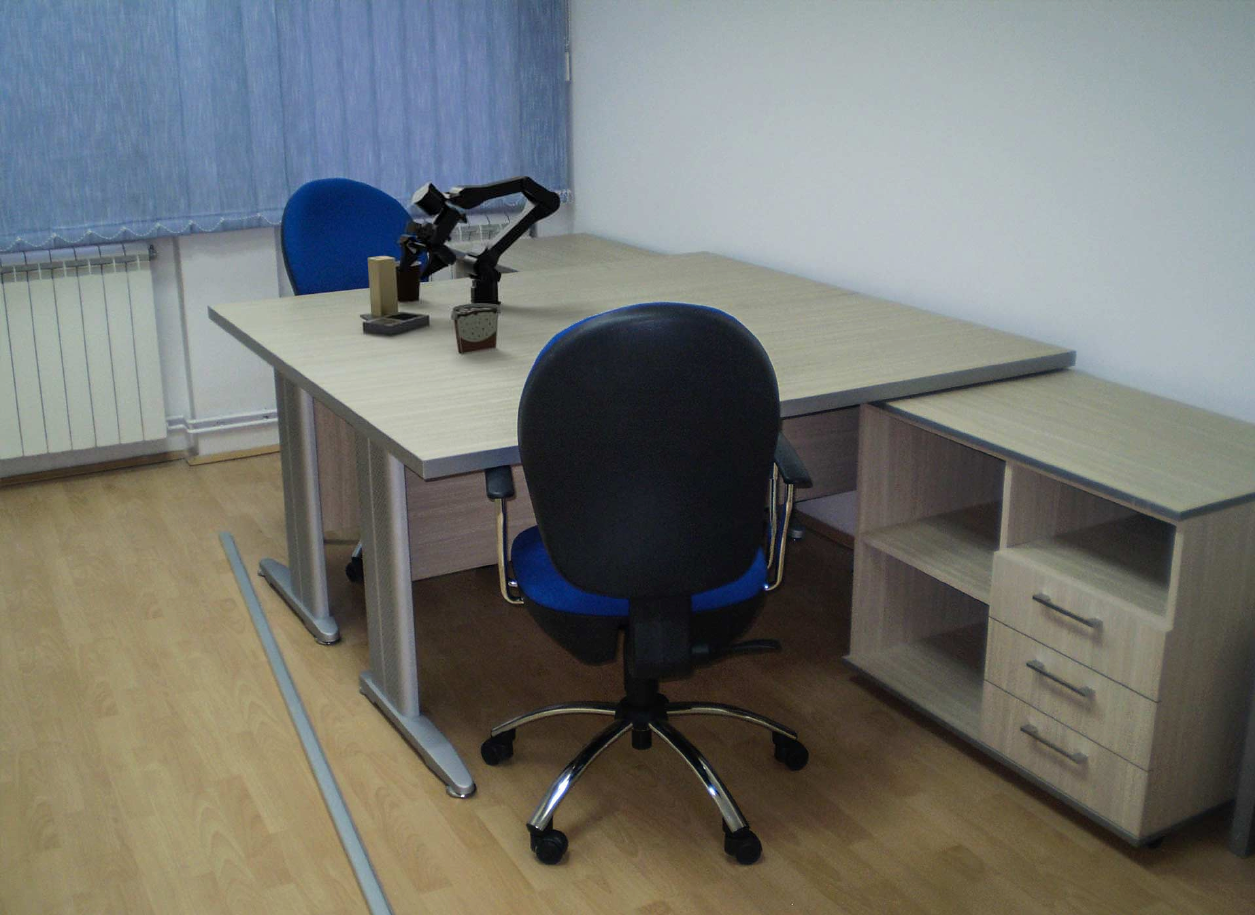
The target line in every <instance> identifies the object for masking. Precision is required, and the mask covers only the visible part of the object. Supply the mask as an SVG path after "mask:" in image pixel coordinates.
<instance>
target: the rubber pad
mask: <svg viewBox="0 0 1255 915" xmlns="http://www.w3.org/2000/svg"><path fill="white" fill-rule="evenodd" d="M359 317H360V318H362V319H363V320H365V321H368V320H371V319H375V318H376V317H373V316H371V313H364V314H359Z"/></svg>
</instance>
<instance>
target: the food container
mask: <svg viewBox="0 0 1255 915" xmlns="http://www.w3.org/2000/svg"><path fill="white" fill-rule="evenodd" d="M499 314H500V315H501V308H500V307H499V304H485V303H475V304H474V303H467V304H466V303H465V304H460V305H457V306H454V307H452V311H451V313H450V320H452V321H453V325H454V329H455V330H454V331H455V337H456V338H455V339H456V345H457V352H458V354H460V355H465V354H471V353H476V352H482V351H488V350H493V349H494V350H495V349H497V344H498V343H497V340H498V327H499V326H498V323H499Z"/></svg>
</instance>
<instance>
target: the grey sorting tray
mask: <svg viewBox="0 0 1255 915" xmlns="http://www.w3.org/2000/svg"><path fill="white" fill-rule="evenodd" d="M430 323H431V322H430V315H429V314H422V313H416V312H409V311H398V313H394V314H390V315H386V316H383V317H379V318H375V319H371V320H368V321H367V320H365V321H362V322H361V324H362V332H363V333H367V334H368V333H369V334H373V335H381V336H388V337H393V336H394V337H395V336H396V335H401V334H404V333H407V332H411V331H414V330H417V329H421V328H425V327H429V326H430Z"/></svg>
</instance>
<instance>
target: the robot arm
mask: <svg viewBox="0 0 1255 915" xmlns="http://www.w3.org/2000/svg"><path fill="white" fill-rule="evenodd" d="M520 193H521V194H522V195H523V197H524V198H525V199H527V200H526V203H525V205H524V208H523V210H522V211H521V212H519V214H517V215H516V217H514V219H511V221H510V222H509V223H508V224H507V225H506V226H505V227H504V228H503V229H502V230H501V231H499V232H498V233H497V234H496V235H495V236H494V237H493V238H492V239H491V240H490V241H489V242H487V243H486V244H484V245H483V244H480V243H475V244H474V245H473V246H472V248H471V249H470V250H467V251H466V252H465V254H466V255H465V256H464V257H463V259H462V260H463V261H462V262H463V263H462V266H463V269H464V271H465V272H466V273H468V277H469V279H470V280H471V284H472V285H471V286H470V300H469V301H470V302H471V304H475V303H485V304H495V305H499V304H501V303H502V302H501V301H500V300H499V283H500V281H501V279H502V273H501V272H500V271H499V270H498V269H497V268H496V266H498V263H499V260H500V257H501V256H502V255H503V254H504V253H505V252H506V251H507V250H508V249H509V248H510V247H512V245H513V244H515V243H516V242H517V240H519V239H520V238H521V237H522V236H523V235H524V234H525V233H526V232H527V231H528V230H530V229H531V227H533V226H534V225H535V223H537V222H539V221H541V220H544V219H545V218H548V217H550V216H551V215H553V214H554V213H556V212H557V211H558V210H559V209H560V207H561V198H560V196H559V194H558V192H555V191H552V190H549V189H547V188H546V187H544V186H543V185H541V184H539V183H538V182H536V181H535V180H534V179H532V178H531V176H530V177H529V176H527V175H522V174H520V175H517V176H514V177H510V178H506V179H502V180H497V181H493V182H489V183H483V184H481V185H479V184H477V185H476V184H475V185H469V184H468V185H467V184H465V185H454V186H452V187H451V188H450V190H449V191H446V192H441V191H440V190H439V189H437V188H436V186H435V185H434V184H433V182H432V183H431V182H426V183H425V185H422V186H421V187H420V188H419V189H418V190H416V191H415V192H414V193H413V194H412V195H413V196H412V198H411V202H412V204H414V205H416V207H418V208H419V209H420V210H421V211H422V212H423V213H424V214H426V215H427V216H428V217H431V216H434V218H433V220H432V221H431V222H430V221H425V220H424V221H423V222H422V223H420V222H417V221H412V220H407V223H406V227H405V230H404V233H406V234H401V235H400V236H399V238H398V240H397V243H398V245H399V247H400V249H401V258H400V260H399V261H400V265H399V268H398V273H399V274H402V273H403V272H404V271H406V270H407V269H408V268H409V267H410V266H411V265H412V264H413V263H414V262H416V261H418V260H419V259H420V256H421V255H422V254H423V253H426V254H428V259H427V262H426V263H425V265H424V267H423V268H422V269H421V274H420V276H419V279H420V281H424V280H425V279H427V278H429V277H431V276H432V275H434V274H436V273H437V272H439V271H441V270H443V269H445V268H449V266H454V265H455V263H456V261H457V253H455V252H454V251H453V250H452V249H451V248H450V247H449V246H448V245H446V242H451V241H452V239H453V238H452V237H451V234H452V233H453V231H454V230H455V228H456V226H457V225H458V224H463V225H464V224H468V218H467V213H466V212H460V211H459V210H458V209H461V210H466V211H470V210H472V209H475V208H477V207H479V206H481V205H482V204H484V203H485V202H487V201H489V200H493V199H499V198H502V197H506V196H511V195H515V194H520ZM448 204H449V205H451V206H449V205H448ZM409 234H411V235H409ZM413 235H414V236H413Z"/></svg>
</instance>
